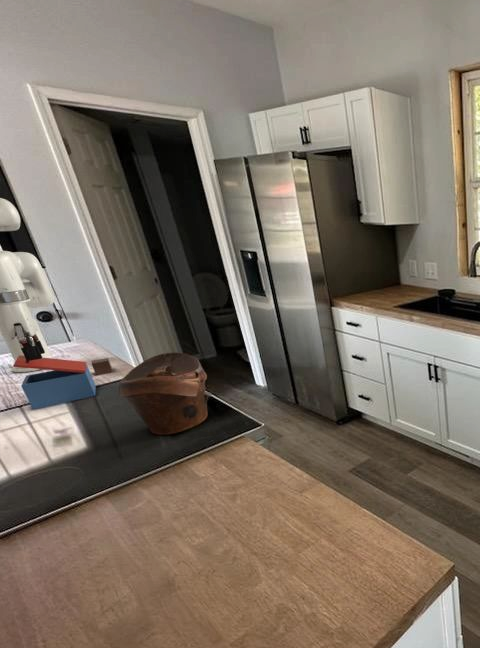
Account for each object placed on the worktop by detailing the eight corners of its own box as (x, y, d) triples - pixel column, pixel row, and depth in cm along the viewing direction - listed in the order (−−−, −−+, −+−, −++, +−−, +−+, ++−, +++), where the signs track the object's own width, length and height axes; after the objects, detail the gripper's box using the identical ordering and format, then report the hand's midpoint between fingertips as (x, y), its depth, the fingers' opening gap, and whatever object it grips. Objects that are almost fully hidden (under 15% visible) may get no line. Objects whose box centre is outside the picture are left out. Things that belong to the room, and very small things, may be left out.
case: (157, 449, 99) (131, 381, 93) (123, 430, 109) (97, 367, 102) (234, 418, 114) (216, 357, 107) (198, 403, 123) (179, 347, 117)
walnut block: (96, 372, 151) (91, 360, 150) (112, 368, 154) (108, 357, 153) (96, 375, 148) (91, 363, 147) (112, 371, 151) (108, 360, 149)
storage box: (32, 409, 122) (21, 385, 119) (37, 398, 130) (26, 375, 127) (95, 395, 131) (85, 373, 128) (95, 385, 139) (86, 364, 136)
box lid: (13, 366, 117) (16, 348, 117) (18, 357, 125) (21, 340, 125) (84, 373, 128) (88, 356, 127) (86, 364, 136) (89, 348, 135)
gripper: (-5, 295, 121) (22, 353, 128) (-18, 304, 109) (13, 367, 116) (32, 292, 126) (56, 347, 132) (23, 299, 114) (51, 360, 120)
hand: (36, 356), depth 124 cm, fingers closed on box lid, 6 cm apart
